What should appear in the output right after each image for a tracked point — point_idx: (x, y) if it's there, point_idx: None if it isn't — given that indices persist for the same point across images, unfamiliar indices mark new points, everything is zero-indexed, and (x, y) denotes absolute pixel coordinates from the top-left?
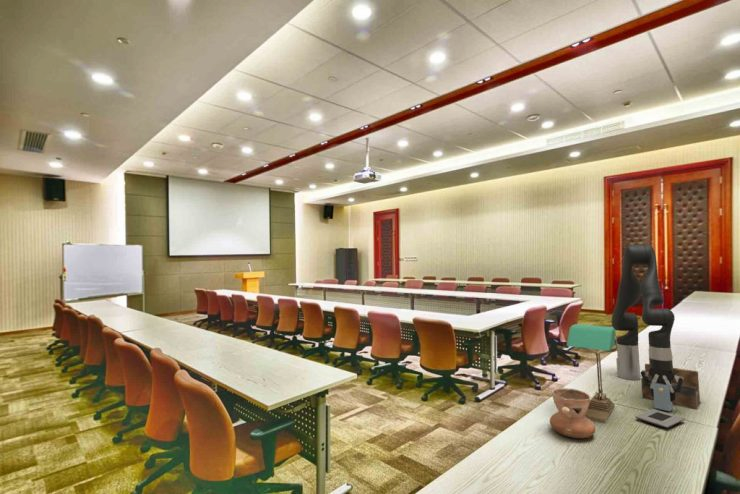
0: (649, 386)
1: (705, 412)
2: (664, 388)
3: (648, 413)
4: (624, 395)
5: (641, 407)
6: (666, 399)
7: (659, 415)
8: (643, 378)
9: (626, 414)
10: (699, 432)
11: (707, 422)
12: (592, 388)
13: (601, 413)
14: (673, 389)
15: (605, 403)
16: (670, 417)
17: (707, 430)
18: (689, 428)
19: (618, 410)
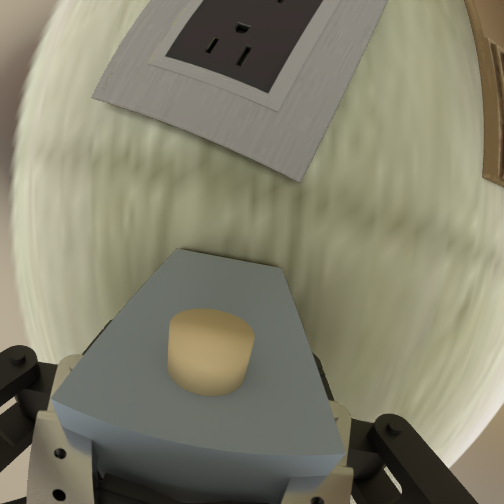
0: (352, 426)
1: (52, 351)
2: (143, 378)
3: (329, 49)
4: (401, 404)
5: (360, 263)
6: (173, 287)
7: (254, 25)
8: (452, 482)
9: (432, 77)
10: (77, 18)
11: (23, 198)
12: (484, 392)
13: (496, 27)
14: (57, 388)
15: None
16: (180, 31)
17: (39, 72)
18: (105, 31)
19: (467, 131)
